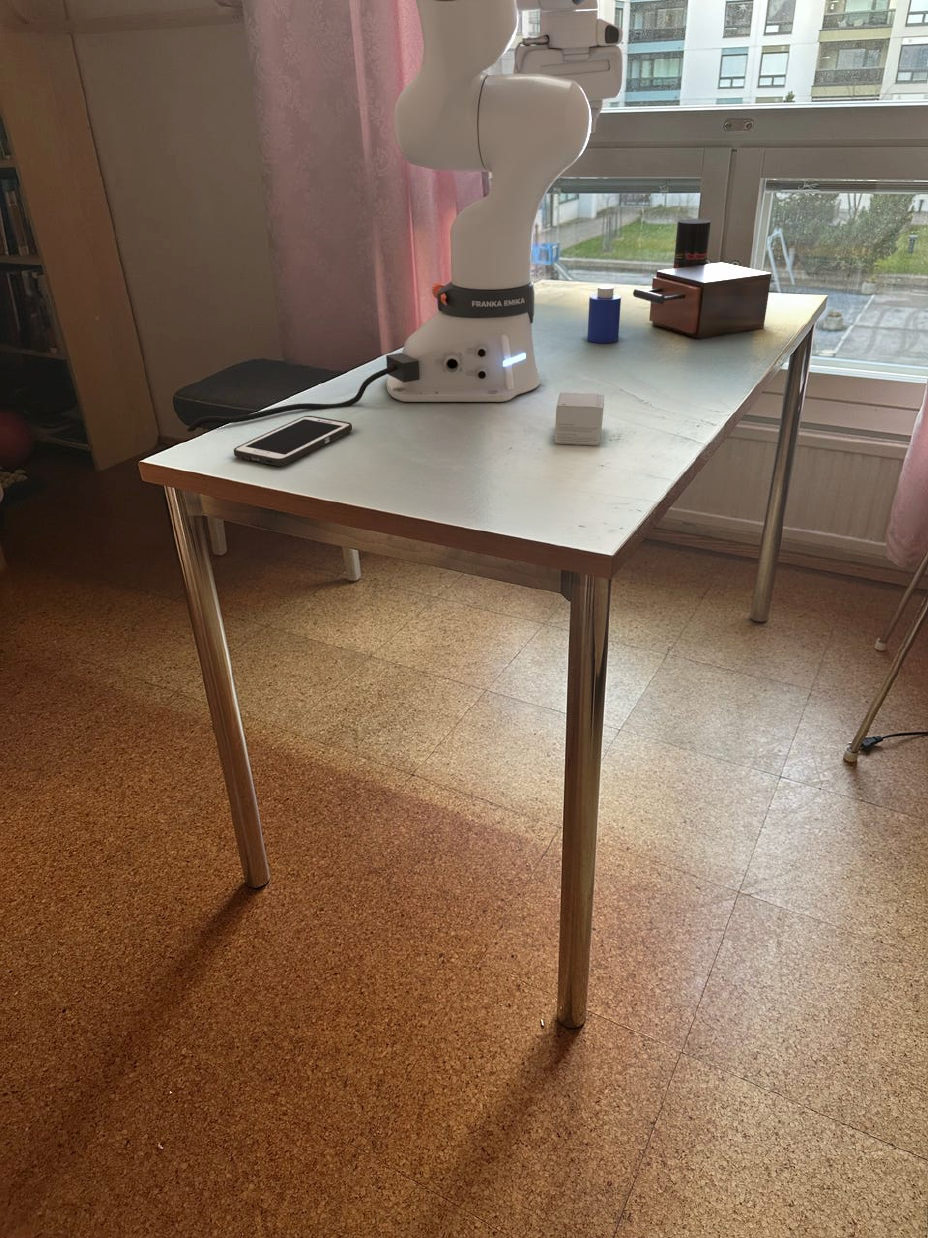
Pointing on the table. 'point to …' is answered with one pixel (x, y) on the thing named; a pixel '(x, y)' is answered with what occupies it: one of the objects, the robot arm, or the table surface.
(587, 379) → the table surface
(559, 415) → the small box
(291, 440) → the cell phone
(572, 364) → the table surface
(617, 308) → the detergent bottle
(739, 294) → the drawer box
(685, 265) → the deodorant
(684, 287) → the wooden drawer
